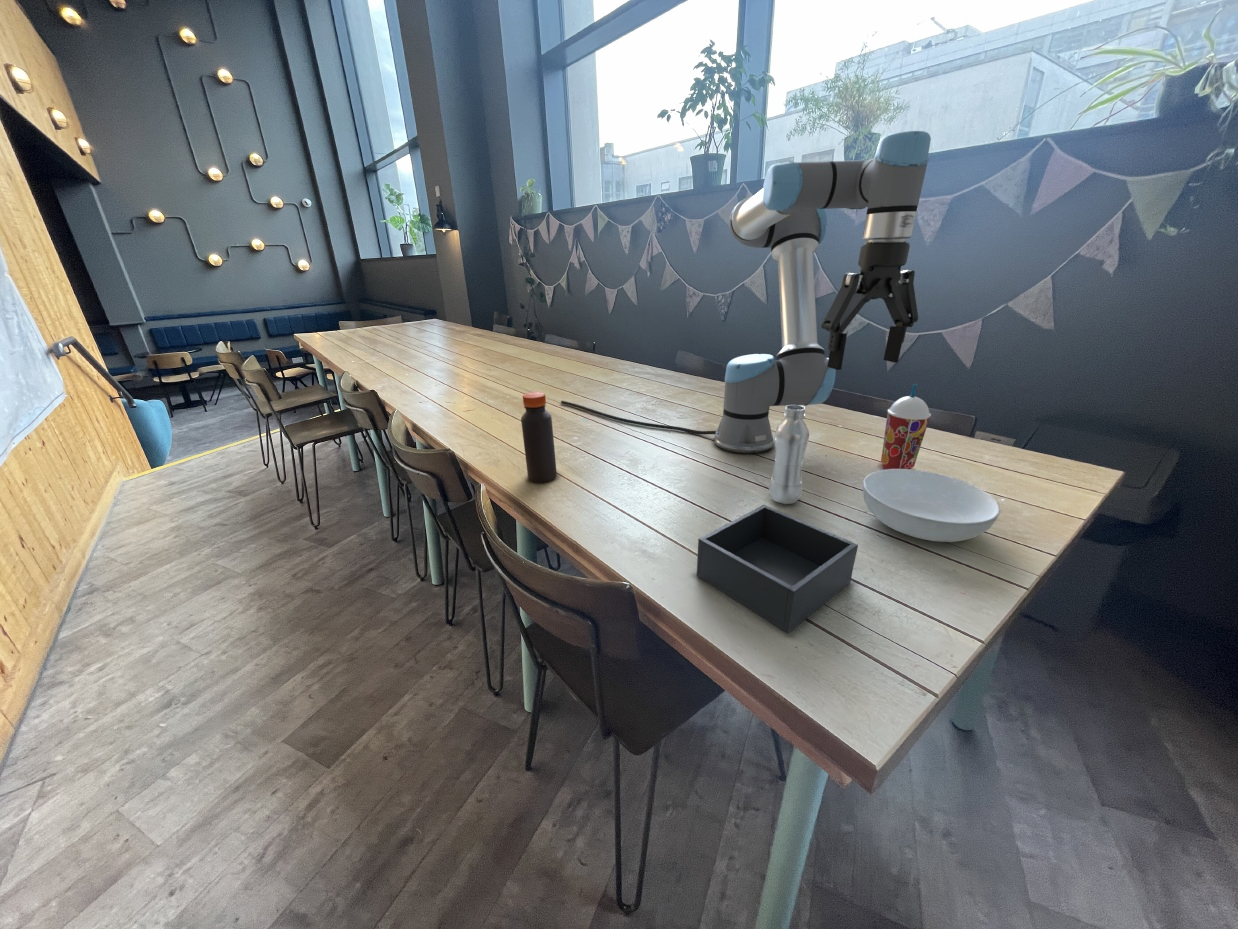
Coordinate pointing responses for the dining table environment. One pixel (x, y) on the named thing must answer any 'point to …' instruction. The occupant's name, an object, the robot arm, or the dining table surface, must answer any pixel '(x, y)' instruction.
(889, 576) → the dining table surface
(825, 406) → the dining table surface
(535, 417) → the vinegar
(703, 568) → the bin
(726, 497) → the dining table surface
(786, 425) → the silver metal bottle
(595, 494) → the dining table surface
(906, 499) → the serving bowl
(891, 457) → the smoothie
